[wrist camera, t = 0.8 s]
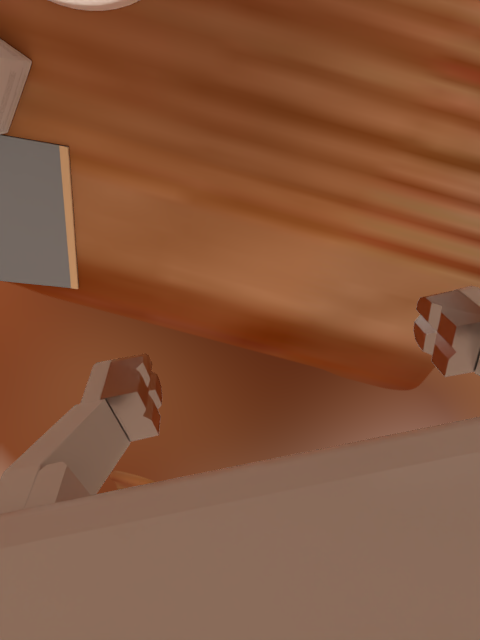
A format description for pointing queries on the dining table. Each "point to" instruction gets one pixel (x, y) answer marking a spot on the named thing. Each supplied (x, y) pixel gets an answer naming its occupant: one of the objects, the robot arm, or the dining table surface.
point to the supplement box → (11, 82)
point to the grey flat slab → (36, 214)
